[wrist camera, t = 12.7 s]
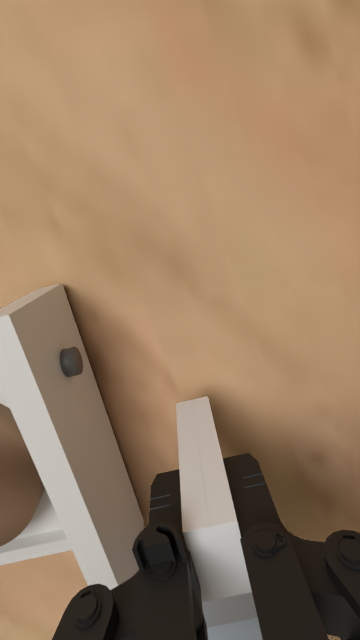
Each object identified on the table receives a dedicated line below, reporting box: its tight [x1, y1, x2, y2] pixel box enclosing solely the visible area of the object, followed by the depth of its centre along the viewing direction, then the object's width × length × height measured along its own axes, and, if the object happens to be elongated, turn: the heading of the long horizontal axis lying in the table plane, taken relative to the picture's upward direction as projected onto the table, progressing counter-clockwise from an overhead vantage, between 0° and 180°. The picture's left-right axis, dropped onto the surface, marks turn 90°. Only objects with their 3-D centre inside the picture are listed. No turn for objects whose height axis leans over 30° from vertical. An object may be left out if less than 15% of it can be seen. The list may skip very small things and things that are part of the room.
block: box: [201, 592, 263, 640], centre depth 18 cm, size 5×5×6 cm
